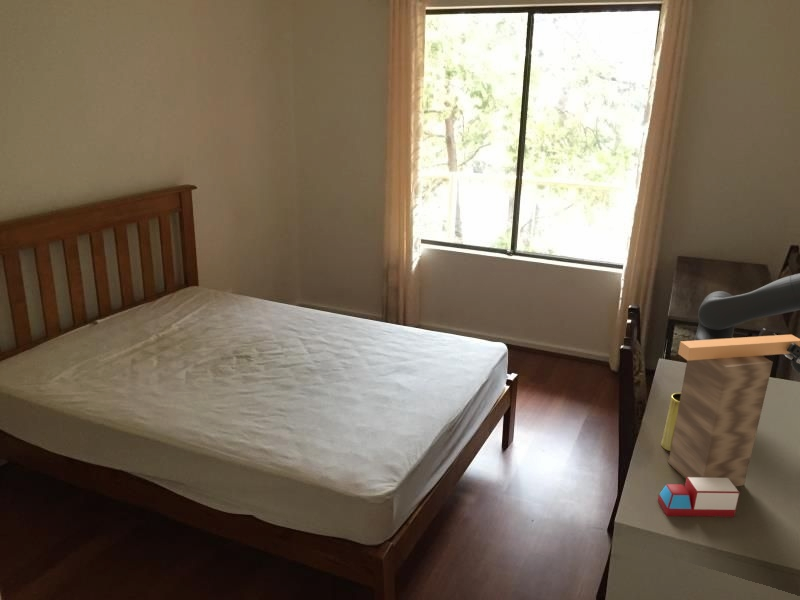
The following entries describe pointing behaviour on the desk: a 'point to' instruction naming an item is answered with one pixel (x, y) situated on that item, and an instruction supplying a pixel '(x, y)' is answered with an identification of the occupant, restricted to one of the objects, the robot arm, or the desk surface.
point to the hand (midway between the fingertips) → (775, 339)
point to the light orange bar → (736, 347)
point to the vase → (671, 421)
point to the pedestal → (719, 417)
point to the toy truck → (700, 498)
